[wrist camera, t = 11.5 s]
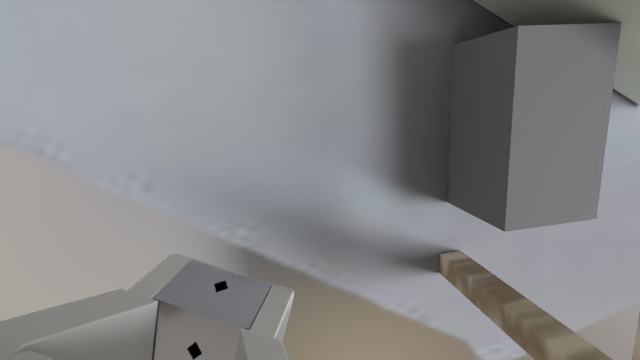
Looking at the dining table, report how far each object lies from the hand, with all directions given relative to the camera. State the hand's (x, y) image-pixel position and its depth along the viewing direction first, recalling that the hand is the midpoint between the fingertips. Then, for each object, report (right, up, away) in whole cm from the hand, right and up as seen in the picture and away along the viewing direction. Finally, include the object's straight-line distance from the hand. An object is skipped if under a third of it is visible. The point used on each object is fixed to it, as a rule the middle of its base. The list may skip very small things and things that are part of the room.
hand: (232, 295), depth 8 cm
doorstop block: (+20, +9, +28) cm, 36 cm away
